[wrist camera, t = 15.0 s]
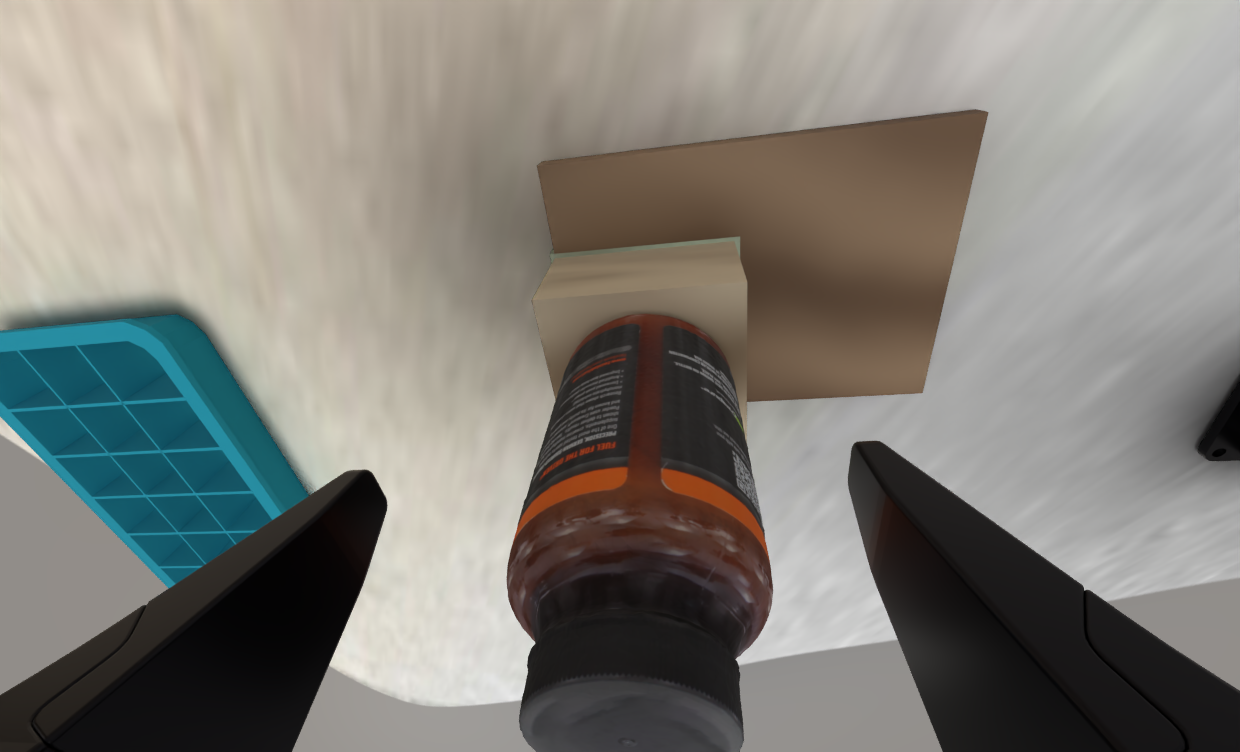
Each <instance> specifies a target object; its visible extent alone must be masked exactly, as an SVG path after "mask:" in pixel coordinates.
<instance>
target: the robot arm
mask: <svg viewBox="0 0 1240 752" xmlns="http://www.w3.org/2000/svg"><path fill="white" fill-rule="evenodd" d="M1198 453H1199V454H1201V455H1202V456H1203V457H1204V458H1206V459H1207V460H1209V461H1231V460H1240V382H1239V384H1238V386H1237V387H1236V389H1235V390H1234V392H1233V393H1232V395H1231V397H1230V398H1229V400H1228V401H1227V403H1226V405H1225V406H1224V408H1223V409H1222V411H1221V413H1220V414H1219V416H1218V417H1217V419H1216V420H1215V422H1214V424H1213V425H1212V427H1211V428H1210V430H1209V432H1208V433H1207V435H1206V436H1205V438H1204V439H1203V441H1202V443H1201V444H1200V446H1199V448H1198ZM848 486H849V492H850V495H851V499H852V503H853V506H854V510H855V514H856V518H857V521H858V525H859V529H860V533H861V536H862V540H863V544H864V547H865V551H866V555H867V559H868V562H869V565H870V569H871V572H872V575H873V578H874V580H875V583H876V586H877V588H878V591H879V593H880V596H881V598H882V601H883V603H884V606H885V608H886V611H887V613H888V616H889V618H890V621H891V623H892V626H893V628H894V631H895V633H896V636H897V638H898V641H899V643H900V646H901V648H902V651H903V653H904V656H905V658H906V661H907V663H908V666H909V668H910V671H911V673H912V676H913V678H914V680H915V683H916V686H917V688H918V691H919V693H920V696H921V698H922V701H923V703H924V706H925V708H926V711H927V713H928V716H929V718H930V721H931V723H932V725H933V728H934V731H935V733H936V736H937V738H938V741H939V743H940V745H941V748H942V751H943V752H1240V691H1239V690H1238V689H1236V688H1235V687H1233V686H1231V685H1230V684H1228V683H1226V682H1225V681H1223V680H1222V679H1220V678H1219V677H1217V676H1216V675H1214V674H1213V673H1211V672H1210V671H1208V670H1206V669H1205V668H1203V667H1202V666H1200V665H1198V664H1197V663H1196V662H1194V661H1192V660H1191V659H1189V658H1188V657H1186V656H1185V655H1183V654H1182V653H1180V652H1179V651H1177V650H1175V649H1174V648H1172V647H1171V646H1169V645H1168V644H1166V643H1165V642H1163V641H1162V640H1160V639H1159V638H1158V637H1156V636H1155V635H1153V634H1152V633H1150V632H1149V631H1147V630H1146V629H1144V628H1143V627H1141V626H1140V625H1139V624H1137V623H1136V622H1134V621H1133V620H1131V619H1130V618H1128V617H1127V616H1126V615H1124V614H1122V613H1121V612H1120V611H1118V610H1117V609H1115V608H1114V607H1113V606H1111V605H1110V604H1108V603H1107V602H1106V601H1104V600H1103V599H1101V598H1100V597H1099V596H1097V595H1096V594H1094V593H1093V592H1092V591H1090V590H1085V591H1084V587H1083V585H1081V584H1080V583H1079V582H1077V581H1076V580H1074V579H1073V578H1072V577H1070V576H1069V575H1067V574H1066V573H1065V572H1063V571H1062V570H1060V569H1059V568H1058V567H1056V566H1055V565H1053V564H1052V563H1051V562H1049V561H1048V560H1046V559H1045V558H1044V557H1042V556H1041V555H1039V554H1038V553H1037V552H1035V551H1034V550H1032V549H1031V548H1030V547H1028V546H1027V545H1025V544H1024V543H1023V542H1021V541H1020V540H1018V539H1017V538H1015V537H1014V536H1013V535H1011V534H1010V533H1008V532H1007V531H1006V530H1004V529H1003V528H1001V527H1000V526H999V525H997V524H996V523H994V522H993V521H992V520H990V519H989V518H987V517H986V516H985V515H983V514H982V513H980V512H979V511H978V510H976V509H975V508H973V507H972V506H971V505H969V504H968V503H966V502H965V501H964V500H962V499H961V498H959V497H958V496H957V495H955V494H954V493H952V492H951V491H950V490H948V489H947V488H945V487H944V486H943V485H941V484H940V483H938V482H937V481H936V480H934V479H933V478H931V477H930V476H928V475H927V474H926V473H924V472H923V471H921V470H920V469H919V468H917V467H916V466H914V465H913V464H912V463H910V462H909V461H907V460H906V459H905V458H903V457H902V456H900V455H899V454H898V453H896V452H895V451H893V450H892V449H891V448H889V447H888V446H886V445H885V444H884V443H882V442H880V441H862V442H856V443H854V444H853V447H852V450H851V458H850V465H849V473H848ZM386 512H387V499H386V497H385V495H384V493H383V491H382V489H381V488H380V486H379V484H378V482H377V480H376V478H375V477H374V475H373V473H372V472H370V471H369V470H350V471H347V472H345V473H343V474H342V475H340V476H338V477H337V478H335V479H334V480H332V481H331V482H329V483H328V484H326V485H325V486H323V487H322V488H320V489H319V490H317V491H316V492H314V493H313V494H311V495H310V496H308V497H307V498H305V499H304V500H302V501H301V502H299V503H298V504H296V505H295V506H293V507H292V508H290V509H288V510H287V511H285V512H284V513H282V514H281V515H279V516H278V517H276V518H275V519H273V520H272V521H270V522H269V523H267V524H266V525H264V526H263V527H261V528H260V529H258V530H257V531H255V532H254V533H252V534H251V535H249V536H248V537H246V538H245V539H243V540H242V541H240V542H238V543H237V544H235V545H234V546H232V547H231V548H229V549H228V550H226V551H225V552H223V553H222V554H220V555H219V556H217V557H216V558H214V559H213V560H211V561H210V562H208V563H207V564H205V565H204V566H202V567H201V568H199V569H198V570H196V571H195V572H193V573H192V574H190V575H188V576H187V577H185V578H184V579H182V580H181V581H179V582H178V583H176V584H175V585H173V586H172V587H170V588H169V589H168V590H166V591H164V592H163V593H161V594H160V595H158V596H157V597H155V598H154V599H152V600H151V601H149V603H148V604H147V605H143V606H141V607H140V608H138V609H137V610H135V611H134V612H132V613H131V614H129V615H128V616H126V617H125V618H123V619H122V620H120V621H119V622H117V623H116V624H114V625H112V626H111V627H109V628H108V629H106V630H105V631H103V632H102V633H100V634H99V635H97V636H95V637H94V638H92V639H91V640H89V641H88V642H86V643H85V644H83V645H81V646H80V647H78V648H77V649H75V650H74V651H72V652H70V653H69V654H67V655H65V656H64V657H62V658H60V659H59V660H57V661H56V662H54V663H52V664H51V665H49V666H47V667H46V668H44V669H43V670H41V671H39V672H38V673H36V674H34V675H33V676H31V677H29V678H28V679H26V680H25V681H23V682H21V683H20V684H18V685H16V686H15V687H13V688H11V689H10V690H8V691H6V692H5V693H3V694H1V695H0V752H292V750H293V748H294V745H295V743H296V741H297V739H298V736H299V734H300V732H301V729H302V727H303V724H304V722H305V720H306V718H307V715H308V713H309V710H310V708H311V705H312V703H313V701H314V699H315V696H316V694H317V692H318V689H319V687H320V685H321V682H322V680H323V678H324V675H325V673H326V671H327V668H328V666H329V664H330V661H331V659H332V657H333V654H334V652H335V650H336V647H337V645H338V643H339V640H340V638H341V636H342V633H343V631H344V629H345V626H346V624H347V622H348V619H349V617H350V615H351V612H352V610H353V608H354V605H355V603H356V601H357V598H358V596H359V593H360V591H361V588H362V586H363V583H364V581H365V578H366V575H367V572H368V569H369V566H370V563H371V559H372V556H373V553H374V550H375V547H376V544H377V540H378V537H379V534H380V531H381V528H382V525H383V521H384V518H385V515H386Z"/></svg>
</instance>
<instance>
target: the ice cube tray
mask: <svg viewBox="0 0 1240 752" xmlns="http://www.w3.org/2000/svg"><path fill="white" fill-rule="evenodd" d="M0 417H1V418H2V419H3V420H4V421H5V422H6V423H7V424H8V425H9V426H10V427H11V428H12V429H13V430H14V431H15V432H16V433H17V434H18V435H19V436H20V437H21V438H22V439H23V440H24V441H25V442H26V443H27V444H28V445H29V446H30V447H31V448H32V449H33V450H34V451H35V452H36V453H37V454H38V455H39V456H40V457H41V458H42V459H43V461H44V462H45V463H46V464H47V465H48V466H49V467H50V468H51V469H52V470H53V471H54V472H55V473H56V474H57V475H58V476H59V477H60V478H61V479H62V480H63V481H64V482H65V483H66V484H67V485H68V486H69V487H70V488H71V489H72V490H73V491H74V492H75V493H76V494H77V495H78V496H79V497H80V498H81V499H82V500H83V501H84V502H85V503H86V504H87V505H88V506H89V507H90V508H91V509H92V511H94V513H95V514H96V515H97V516H98V517H99V518H100V519H101V520H102V521H103V522H104V523H105V524H106V525H107V526H108V527H109V528H110V529H111V530H112V531H113V532H114V533H115V534H116V535H117V536H118V537H119V538H120V539H121V540H122V541H123V542H124V543H125V544H126V545H127V546H128V547H129V548H130V549H131V550H132V551H133V552H134V553H135V554H136V555H137V556H138V558H139V559H141V561H142V562H144V564H145V565H146V566H147V567H148V568H149V569H150V570H151V571H152V572H153V573H154V574H155V575H156V576H157V577H158V578H159V579H160V580H161V581H162V582H163V583H164V584H165V585H166V586H167V587H168V588H170V587H172V586H173V585H175V584H176V583H178V582H179V581H181V580H182V579H184V578H185V577H187V576H188V575H190V574H192V573H193V572H195V571H196V570H198V569H199V568H201V567H202V566H204V565H205V564H207V563H208V562H210V561H211V560H213V559H214V558H216V557H217V556H219V555H220V554H222V553H223V552H225V551H226V550H228V549H229V548H231V547H232V546H234V545H235V544H237V543H238V542H240V541H242V540H243V539H245V538H246V537H248V536H249V535H251V534H252V533H254V532H255V531H257V530H258V529H260V528H261V527H263V526H264V525H266V524H267V523H269V522H270V521H272V520H273V519H275V518H276V517H278V516H279V515H281V514H282V513H284V512H285V511H287V510H288V509H290V508H292V507H293V506H295V505H296V504H298V503H299V502H301V501H302V500H304V499H305V498H307V497H308V496H309V495H308V494H307V492H306V491H305V489H304V487H303V486H302V484H301V483H300V481H299V480H298V478H297V477H296V475H295V473H294V472H293V470H292V469H291V467H290V466H289V464H288V462H287V461H286V459H285V458H284V456H283V455H282V453H281V451H280V450H279V448H278V447H277V445H276V444H275V442H274V441H273V439H272V437H271V436H270V434H269V433H268V431H267V430H266V428H265V426H264V425H263V423H262V422H261V420H260V419H259V417H258V416H257V414H256V412H255V411H254V409H253V408H252V406H251V405H250V403H249V401H248V400H247V398H246V397H245V395H244V394H243V392H242V390H241V389H240V387H239V386H238V384H237V383H236V381H235V380H234V378H233V376H232V375H231V373H230V372H229V370H228V369H227V367H226V365H225V364H224V362H223V361H222V359H221V358H220V356H219V354H218V353H217V351H216V350H215V348H214V347H213V345H212V344H211V342H210V340H209V339H208V337H207V336H206V334H205V333H204V332H203V331H202V330H201V329H199V328H198V327H197V326H196V325H195V324H194V323H193V322H192V321H190V320H188V319H186V318H183V317H181V316H179V315H177V314H174V315H163V316H153V317H142V318H131V319H129V318H128V319H117V320H107V321H96V322H86V323H75V324H65V325H54V326H44V327H33V328H23V329H12V330H2V331H0Z"/></svg>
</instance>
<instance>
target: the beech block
mask: <svg viewBox="0 0 1240 752" xmlns="http://www.w3.org/2000/svg"><path fill="white" fill-rule="evenodd" d="M532 304H533V308H534V312H535V316H536V320H537V325H538V329H539V333H540V337H541V341H542V345H543V349H544V354H545V358H546V362H547V366H548V370H549V374H550V379H551V383H552V387H553V391H554V395H555V399H556V398H557V394H558V391H559V388H560V385H561V381H562V378H563V375H564V372H565V370H566V367H567V365H568V363H569V360H570V358H571V356H572V354H573V353H574V351H575V349H576V348H577V346H578V345H579V344H580V343H581V341H582V340H583V339H584V338H585V337H587V336H588V335H589V334H590V333H591V332H593V331H594V330H595V329H597V328H599V327H600V326H602V325H604V324H606V323H608V322H610V321H612V320H615V319H618V318H621V317H624V316H627V315H634V314H636V315H638V314H656V315H664V316H669V317H673V318H677V319H680V320H683V321H685V322H688V323H690V324H692V325H694V326H695V327H697V328H699V329H700V330H701V331H703V332H704V333H706V334H707V335H708V336H709V337H710V338H711V339H712V340H713V341H714V342H715V343H716V344H717V345H718V346H719V348H720V349H721V351H722V352H723V354H724V355H725V357H726V359H727V362H728V364H729V366H730V370H731V373H732V376H733V379H734V382H735V387H736V393H737V398H738V402H739V409H740V413H741V417H742V421H743V428H744V433H745V439H746V443H747V279H746V276H745V273H744V270H743V267H742V264H741V260H740V257H739V254H738V251H737V248H736V245H735V242H734V241H728V242H717V243H707V244H697V245H687V246H676V247H666V248H656V249H645V250H635V251H625V252H615V253H604V254H594V255H584V256H574V257H563V258H555V259H554V261H553V263H552V264H551V266H550V268H549V270H548V272H547V273H546V275H545V277H544V279H543V281H542V283H541V284H540V286H539V288H538V290H537V292H536V293H535V295H534V297H533V299H532Z"/></svg>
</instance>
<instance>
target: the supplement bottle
mask: <svg viewBox="0 0 1240 752" xmlns="http://www.w3.org/2000/svg"><path fill="white" fill-rule="evenodd" d="M507 589H508V598H509V602H510V605H511V608H512V610H513V612H514V614H515V616H516V618H517V620H518V621H519V623H520V624H521V626H522V628H523V629H524V630H525V631H526V632H527V633H528V634H529V636H530V637H531V638H532V639H533V640H534V641H535V643H536V644H535V645H534V646H533V647H532V648H531V651H530V654H529V656H528V664H527V667H528V675H527V679H526V685H525V690H524V693H523V697H522V703H521V709H520V715H519V723H520V730H521V731H522V733H523V737H524V738H525V740H526V741H527V743H528V744H529V745H530V746H531V747H532V748H533V749H534V750H535V751H536V752H740V749H741V747H742V744H743V741H744V734H743V719H742V710H741V702H740V688H739V680H740V672H739V666H738V663H737V661H736V660H735V659H736V658H737V657H738V656H740V655H741V654H742V653H743V652H744V651H745V650H746V649H747V648H749V647H750V646H751V645H752V643H753V642H754V641H755V640H756V639H757V637H758V636H759V634H760V633H761V631H762V629H763V628H764V625H765V623H766V621H767V618H768V616H769V613H770V609H771V604H772V595H773V584H772V577H771V567H770V561H769V556H768V551H767V546H766V542H765V533H764V528H763V523H762V517H761V513H760V507H759V503H758V497H757V493H756V488H755V482H754V479H753V475H752V470H751V463H750V458H749V453H748V447H747V443H746V439H745V433H744V428H743V421H742V417H741V413H740V409H739V402H738V398H737V393H736V387H735V382H734V379H733V376H732V373H731V370H730V366H729V364H728V362H727V359H726V357H725V355H724V354H723V352H722V351H721V349H720V348H719V346H718V345H717V344H716V343H715V342H714V341H713V340H712V339H711V338H710V337H709V336H708V335H707V334H706V333H704V332H703V331H701V330H700V329H699V328H697V327H695V326H694V325H692V324H690V323H688V322H685V321H683V320H680V319H677V318H673V317H669V316H664V315H656V314H638V315H636V314H634V315H627V316H624V317H621V318H618V319H615V320H612V321H610V322H608V323H606V324H604V325H602V326H600V327H599V328H597V329H595V330H594V331H593V332H591V333H590V334H589V335H588V336H587V337H585V338H584V339H583V340H582V341H581V343H580V344H579V345H578V346H577V348H576V349H575V351H574V353H573V354H572V356H571V358H570V360H569V363H568V365H567V367H566V370H565V372H564V375H563V378H562V381H561V385H560V388H559V391H558V394H557V398H556V402H555V405H554V408H553V411H552V415H551V419H550V422H549V425H548V428H547V431H546V434H545V438H544V441H543V444H542V448H541V451H540V453H539V457H538V461H537V464H536V467H535V469H534V474H533V477H532V480H531V484H530V487H529V491H528V494H527V497H526V499H525V501H524V505H523V509H522V512H521V515H520V519H519V522H518V527H517V532H516V535H515V538H514V541H513V545H512V548H511V552H510V557H509V562H508V569H507Z"/></svg>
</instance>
